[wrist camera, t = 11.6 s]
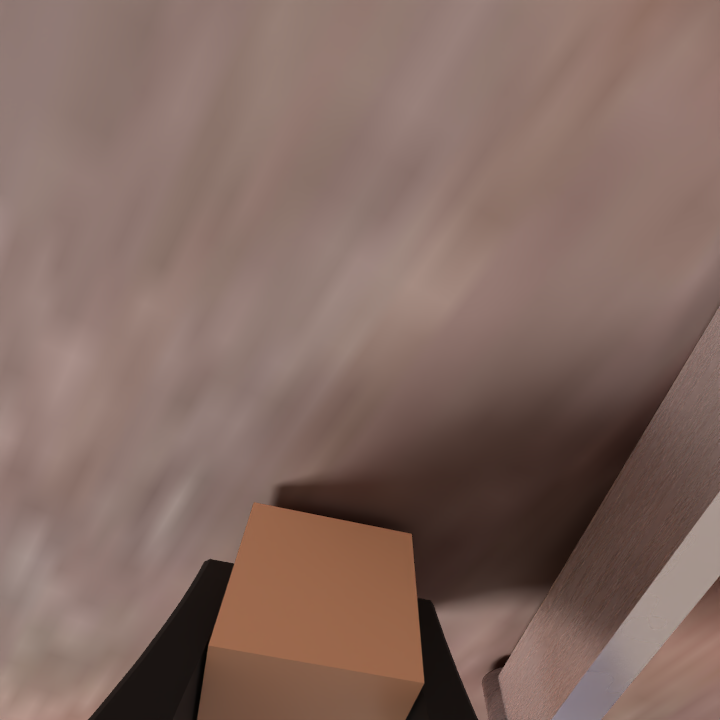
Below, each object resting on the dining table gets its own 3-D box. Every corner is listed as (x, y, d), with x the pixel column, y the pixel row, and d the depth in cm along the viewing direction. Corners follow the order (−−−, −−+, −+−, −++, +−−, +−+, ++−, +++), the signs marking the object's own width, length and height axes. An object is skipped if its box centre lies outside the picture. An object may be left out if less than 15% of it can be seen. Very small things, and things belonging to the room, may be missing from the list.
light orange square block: (411, 534, 11) (424, 683, 8) (372, 631, 12) (372, 784, 10) (254, 502, 11) (208, 645, 8) (234, 606, 12) (191, 756, 9)
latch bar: (521, 699, 14) (548, 807, 12) (475, 691, 14) (493, 798, 12) (835, 226, 8) (1015, 269, 5) (755, 206, 8) (905, 241, 5)
